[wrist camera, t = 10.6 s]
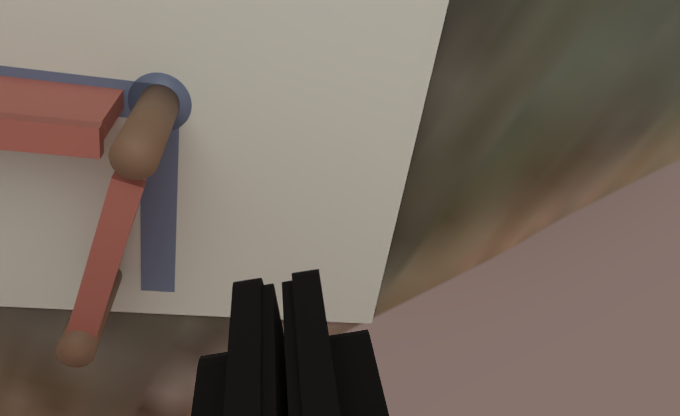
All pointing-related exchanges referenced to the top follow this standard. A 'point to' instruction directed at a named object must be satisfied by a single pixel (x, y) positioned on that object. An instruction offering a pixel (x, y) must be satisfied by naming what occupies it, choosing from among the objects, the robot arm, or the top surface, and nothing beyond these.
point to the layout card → (223, 147)
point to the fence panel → (101, 273)
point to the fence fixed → (86, 122)
